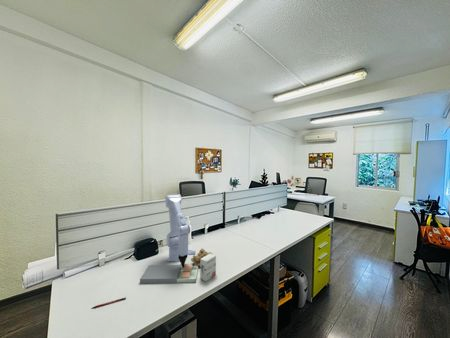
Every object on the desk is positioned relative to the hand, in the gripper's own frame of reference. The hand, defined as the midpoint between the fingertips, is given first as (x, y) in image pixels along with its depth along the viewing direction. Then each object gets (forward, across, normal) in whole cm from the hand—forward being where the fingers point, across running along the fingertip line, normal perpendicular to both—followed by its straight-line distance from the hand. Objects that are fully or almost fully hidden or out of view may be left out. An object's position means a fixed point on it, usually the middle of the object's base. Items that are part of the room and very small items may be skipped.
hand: (183, 266), depth 108 cm
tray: (+3, +4, -4) cm, 6 cm away
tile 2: (+2, +3, -7) cm, 7 cm away
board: (+3, -12, -4) cm, 13 cm away
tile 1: (+1, +3, -1) cm, 3 cm away
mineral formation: (+3, +12, +8) cm, 15 cm away
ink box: (+3, +15, -5) cm, 17 cm away
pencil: (+4, -30, -23) cm, 38 cm away
